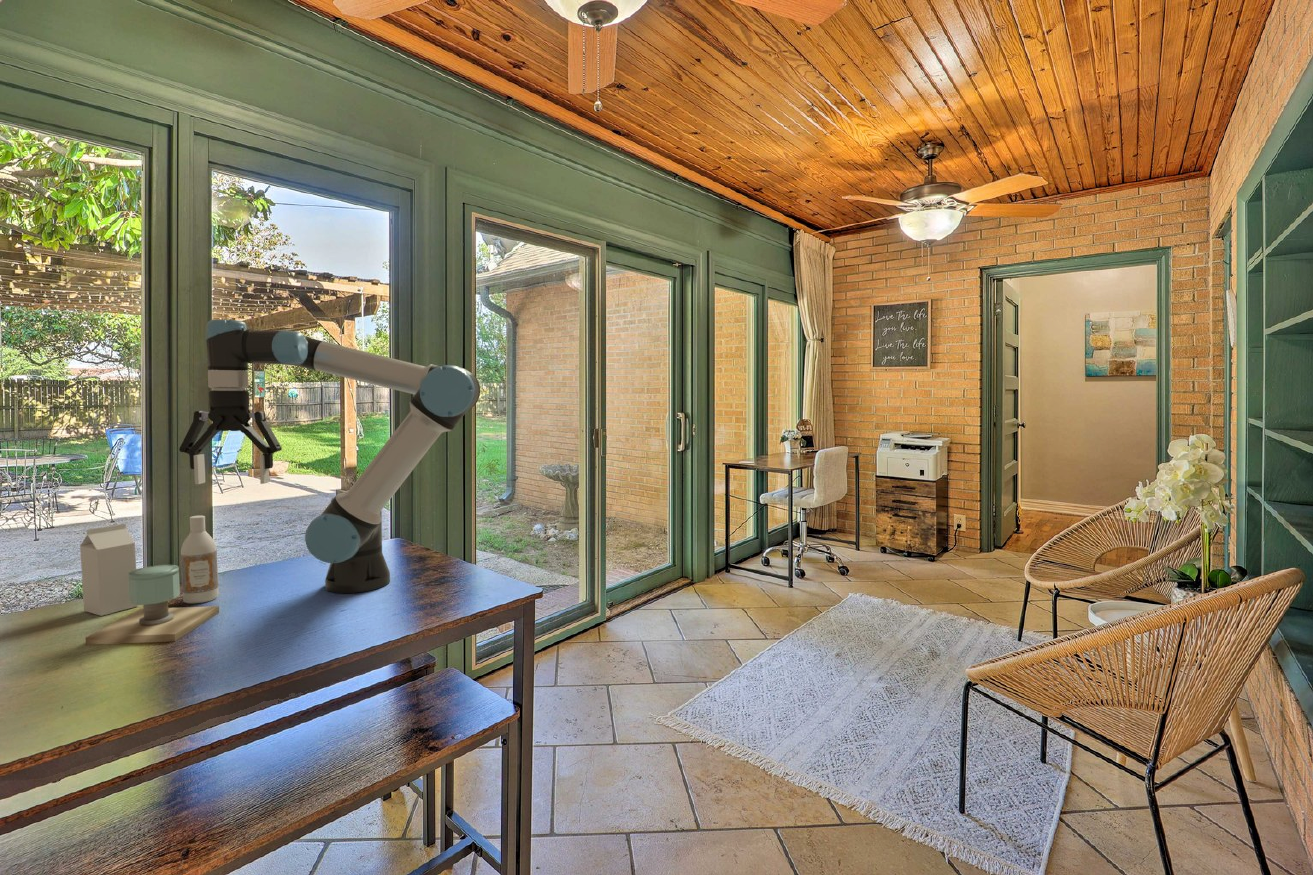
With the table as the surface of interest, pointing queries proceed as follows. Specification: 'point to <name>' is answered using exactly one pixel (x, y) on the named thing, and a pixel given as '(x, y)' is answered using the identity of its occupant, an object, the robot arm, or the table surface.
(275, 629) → the table surface
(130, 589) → the cap
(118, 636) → the stud board
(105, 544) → the milk carton
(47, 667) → the table surface
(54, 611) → the table surface
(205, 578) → the bath foam
